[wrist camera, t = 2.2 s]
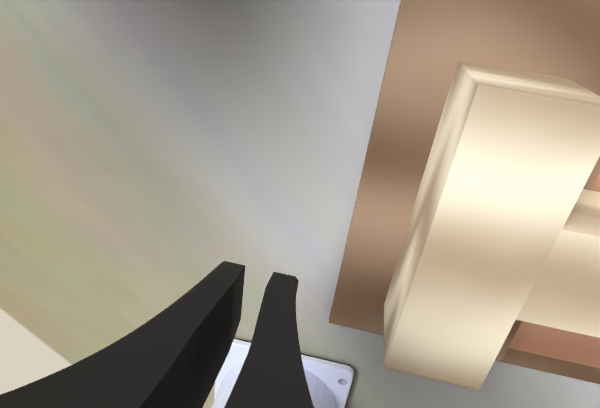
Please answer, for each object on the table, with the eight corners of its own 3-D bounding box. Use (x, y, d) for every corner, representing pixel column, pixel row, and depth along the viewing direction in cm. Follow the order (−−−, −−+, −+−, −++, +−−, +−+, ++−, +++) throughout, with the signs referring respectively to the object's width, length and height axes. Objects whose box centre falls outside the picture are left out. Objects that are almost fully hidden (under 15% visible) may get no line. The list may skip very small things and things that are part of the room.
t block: (632, 359, 21) (682, 437, 17) (384, 304, 22) (383, 367, 18) (810, 119, 15) (940, 164, 11) (457, 60, 16) (478, 84, 12)
